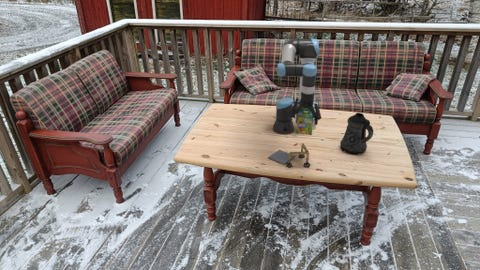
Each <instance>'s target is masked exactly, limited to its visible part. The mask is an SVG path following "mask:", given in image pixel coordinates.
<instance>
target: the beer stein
mask: <svg viewBox="0 0 480 270" xmlns="http://www.w3.org/2000/svg"><path fill="white" fill-rule="evenodd" d="M373 136H374V129H373V126H372V125H371V122H370V120H369V119H367V118H366V117H365V115H364V113H362V112H357V113H355V114H353V115H351V116H349V117H348V118H347V126H346V129H345V132H344V135H343V137H342V139H341V140H340V142H339V144H340V150H341V151H342V152H344V153H346V154H349V155H354V156H357V155H362V154H365V152H366V150H367V148H368V144H367V142H369V140H371V139H372V138H373Z"/></svg>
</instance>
